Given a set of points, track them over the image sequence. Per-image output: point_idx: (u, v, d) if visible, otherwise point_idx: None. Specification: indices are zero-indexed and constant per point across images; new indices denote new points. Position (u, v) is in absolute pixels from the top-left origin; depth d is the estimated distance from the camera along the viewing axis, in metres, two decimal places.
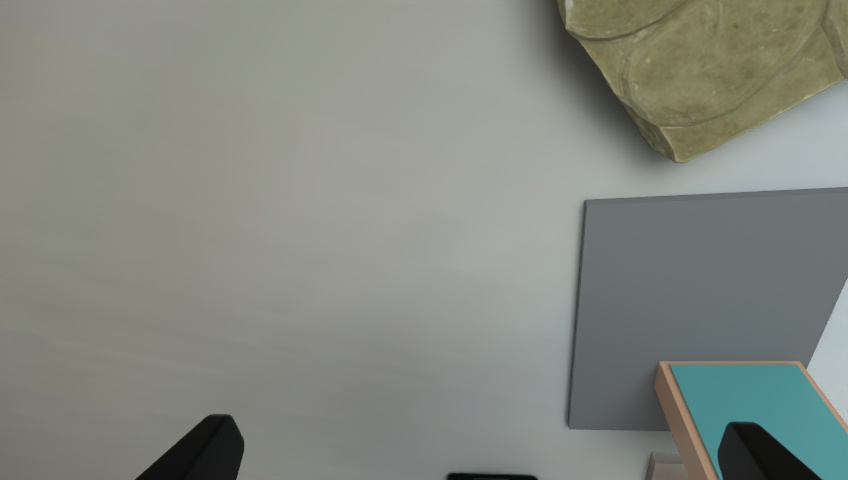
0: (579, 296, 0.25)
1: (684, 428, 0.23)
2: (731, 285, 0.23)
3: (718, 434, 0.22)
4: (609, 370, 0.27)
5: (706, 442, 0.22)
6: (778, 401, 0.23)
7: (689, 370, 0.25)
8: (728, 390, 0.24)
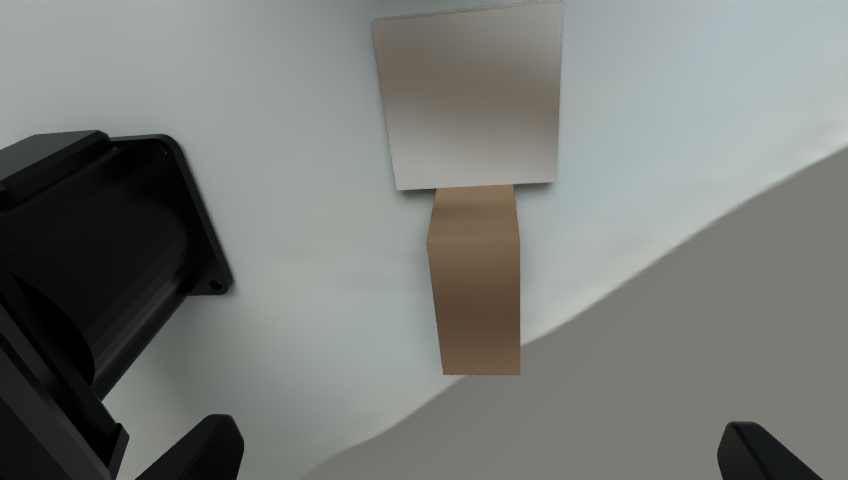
0: None
1: None
2: None
3: None
4: None
5: None
6: None
7: None
8: None
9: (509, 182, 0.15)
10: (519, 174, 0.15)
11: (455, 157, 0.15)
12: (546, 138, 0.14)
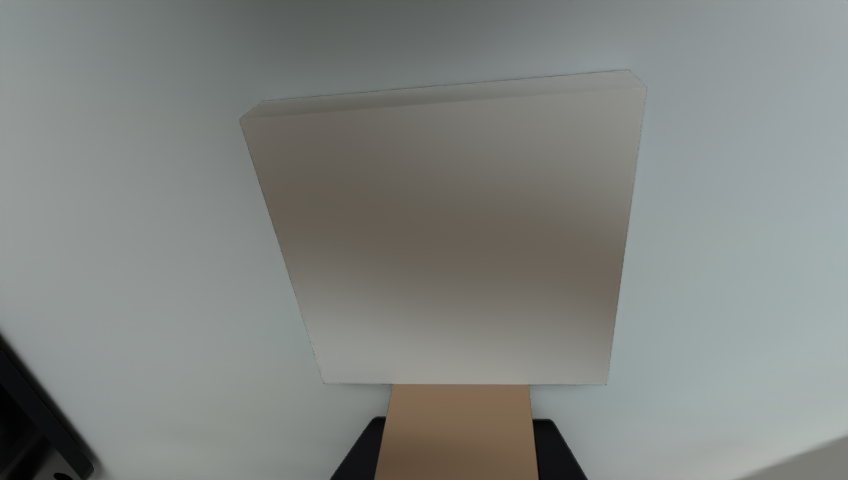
0: None
1: None
2: None
3: None
4: None
5: None
6: None
7: None
8: None
9: (521, 376, 0.08)
10: (540, 371, 0.08)
11: (424, 343, 0.08)
12: (593, 322, 0.07)
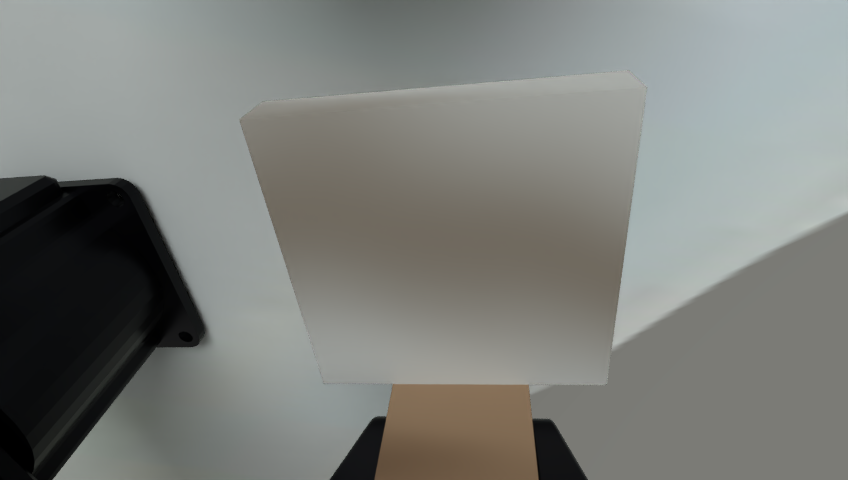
0: None
1: None
2: None
3: None
4: None
5: None
6: None
7: None
8: None
9: (520, 377, 0.08)
10: (540, 371, 0.08)
11: (424, 344, 0.08)
12: (593, 322, 0.07)
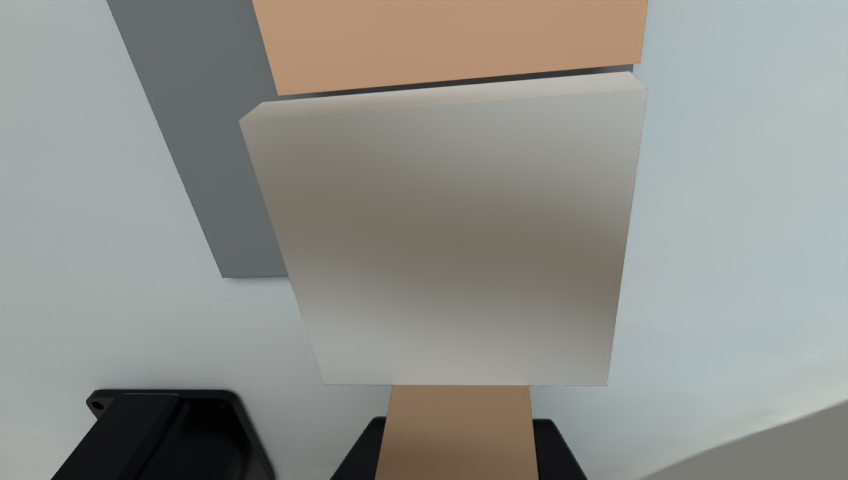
0: None
1: None
2: None
3: None
4: (224, 112, 0.12)
5: None
6: None
7: None
8: None
9: (521, 378, 0.08)
10: (540, 372, 0.08)
11: (424, 345, 0.08)
12: (593, 323, 0.07)
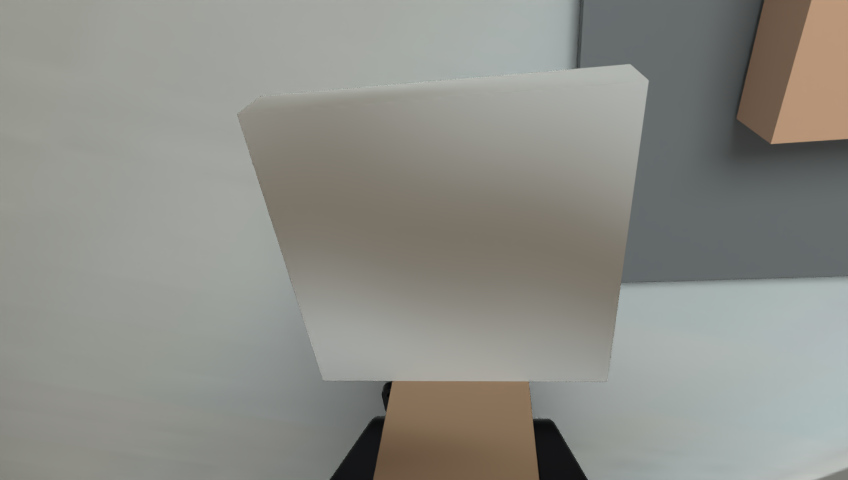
0: None
1: None
2: None
3: None
4: (639, 149, 0.15)
5: None
6: None
7: None
8: None
9: (521, 374, 0.08)
10: (540, 368, 0.08)
11: (424, 340, 0.08)
12: (594, 318, 0.07)
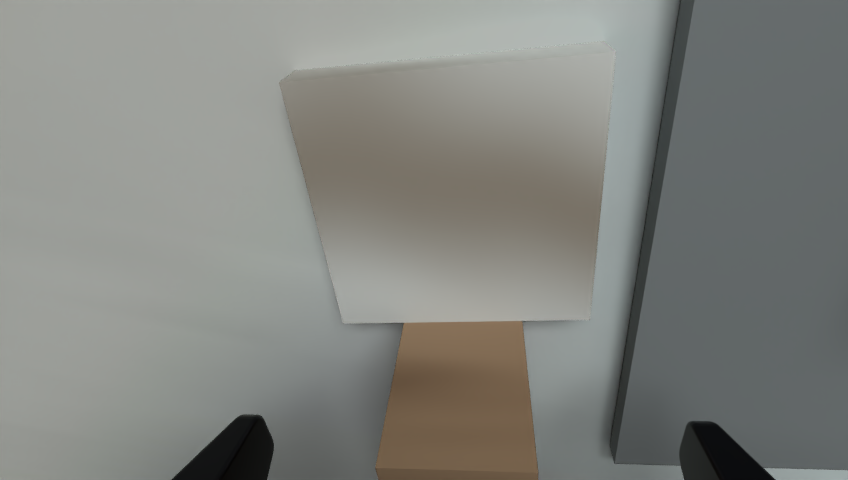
0: None
1: None
2: None
3: None
4: (751, 299, 0.09)
5: None
6: None
7: None
8: None
9: (515, 315, 0.10)
10: (532, 308, 0.09)
11: (432, 283, 0.09)
12: (577, 261, 0.09)
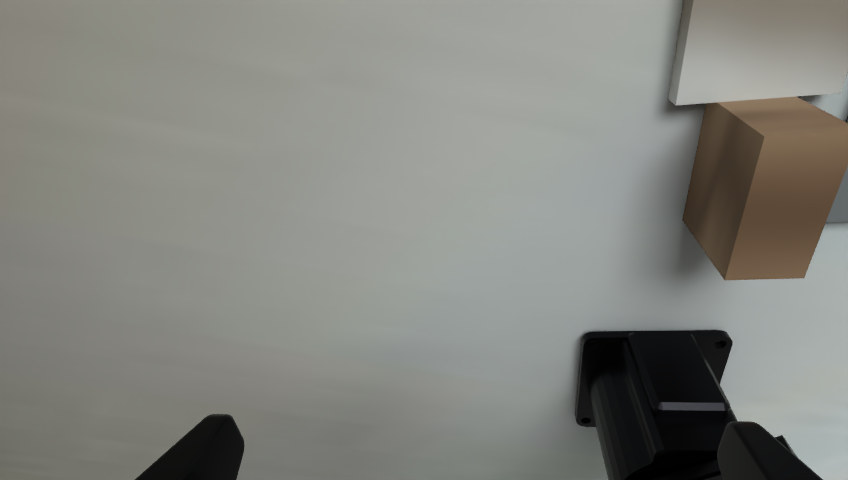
0: None
1: None
2: None
3: None
4: None
5: None
6: None
7: None
8: None
9: (789, 95, 0.16)
10: (805, 86, 0.15)
11: (746, 70, 0.15)
12: (844, 47, 0.15)
